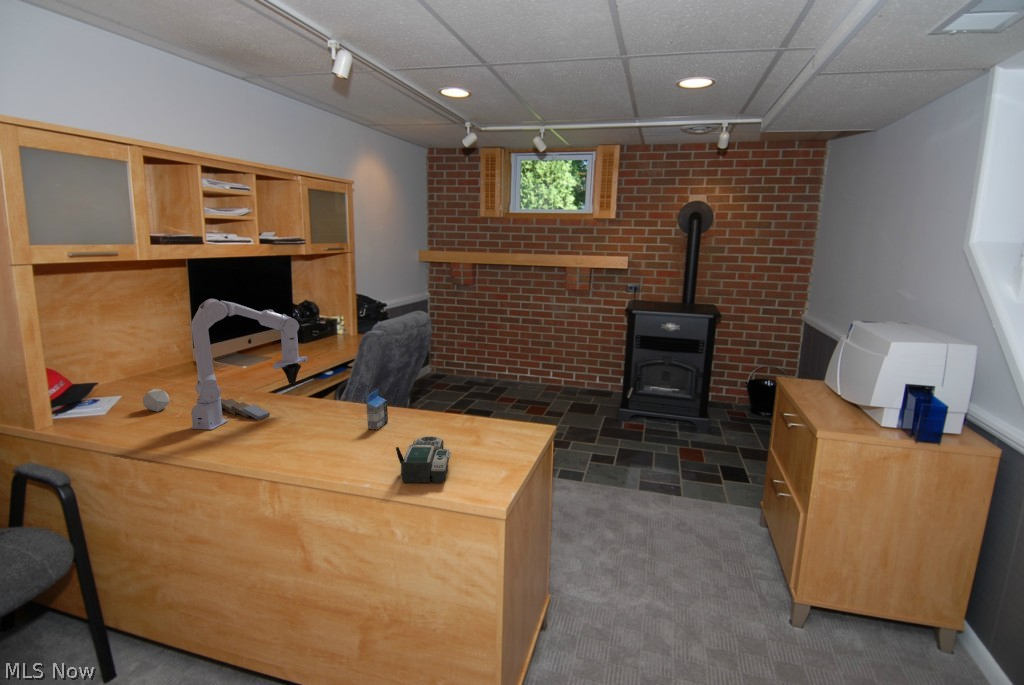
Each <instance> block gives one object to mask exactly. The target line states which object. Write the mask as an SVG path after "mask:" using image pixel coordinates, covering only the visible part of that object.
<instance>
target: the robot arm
mask: <svg viewBox="0 0 1024 685" xmlns="http://www.w3.org/2000/svg"><path fill="white" fill-rule="evenodd" d="M235 315H239V316H242V317H246V318H249V319H252V320H257V321H258V322H259V325H261V326H264V327H266V328H267V327H268V328H271V329H275V330H278V331H279V330H280V334H281V335H280V336H281V337H280V340H281V355H282V358H281V359H282V360H280V361H276V362H274V363H273V364H272V366H273V370H274V369H275V370H278V369H280V368H281V370H282V371H283V373H284V374H285V376H286V379H287V381H288V384H289V385H295V384H296V382H297V381H296V380H297V378H298V374H299V371H300V370H301V368H302V365H301V363H307V362H308V356H303V355H302V356H299V355H300V354H299V342H298V332H299V329H300V324H299V322H298V320H296V319H295V318H292V317H291V316H288V315H287V314H285V313H282V314H280V313H277V312H275V311H274V310H273V309H270V308H269V309H264V310H262V311H260V310H259V311H258V310H255V309H253V308H250V307H247V306H245V305H241V304H238V303H236V302H232V301H231V302H230V301H225V300H220V301H219V300H218V299H216V298H208V299H207V300H205V301H203V302H202V303H201V304H200V305H199V306H198V310H197V311H196V313H195V315H194V317H193V319H191V321H190V322H191V323H190V326H191V327H190V328H191V333H192V334H191V335H192V340H193V342H192V343H193V346H194V356H195V362H196V369H197V377H196V379H197V382H196V385H195V392H196V393H197V395H198V397H197V399H196V404H195V405H194V406H193V407H192V408H191V410H190V412H191V413H190V414H191V424H192V426H190V429H192V430H193V429H194V430H209V431H211V430H214V429H217V428H218V427H220V426H222V425H223V424H225V423H227V422H229V419H225V418H223V410H222V407H221V399H222V397H221V394H222V389H221V388H220V386H219V385H218V382H217V377H216V374H215V370H214V362H213V357H212V356H213V355H212V348H211V340H210V335H209V334H210V332H209V329H210V328H211V327H212V326H213V325H214V324H215V323H217V322H218V321H221V320H223V319H224V318H226V317H227V316H228V317H232V316H235Z"/></svg>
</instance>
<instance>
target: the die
mask: <svg viewBox="0 0 1024 685" xmlns="http://www.w3.org/2000/svg"><path fill="white" fill-rule="evenodd" d="M170 403H171V401H170V396H169V394H168V393H167V392H166V391H165V390H163V389H158V388H153V389H151V390H150V391H147V392H146V393H145V395H143V396H142V404H143V407H144V408H146V409H147V410H149V411H153V412H160V411H161V410H164V409H165V408H166V407H167V406H168V405H169V404H170Z"/></svg>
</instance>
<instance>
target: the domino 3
mask: <svg viewBox="0 0 1024 685" xmlns="http://www.w3.org/2000/svg"><path fill="white" fill-rule="evenodd" d="M242 412H243V413H245V414H247V415H249V416H251V418H254V419H255V420H256V421H261V420H263V418H264V419H266V418H265V417H267V416H269V417H270V415H271V412H269V410H266V409H265V408H262V407H261V406H258V405H256V404H250V406H248V407H245V408H243V411H242ZM267 418H268V417H267ZM260 419H261V420H260Z"/></svg>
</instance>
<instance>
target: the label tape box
mask: <svg viewBox="0 0 1024 685" xmlns="http://www.w3.org/2000/svg"><path fill="white" fill-rule="evenodd" d="M365 400H366V401H365V402H366V415H367V416H366V418H367V430H368V429H379V428H380V427H381V428H382V427H383V426H385V425H386V424H387V423H388V422H389V417H388V415H389V413H388V400H387V399H385V398H383V397H381V396H379V389H376V390H374V391H372V392H370V393H369V394H368V395H366V399H365ZM386 422H387V423H386ZM385 423H386V424H385ZM384 424H385V425H384ZM381 428H380V429H381ZM380 429H379V430H380Z"/></svg>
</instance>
